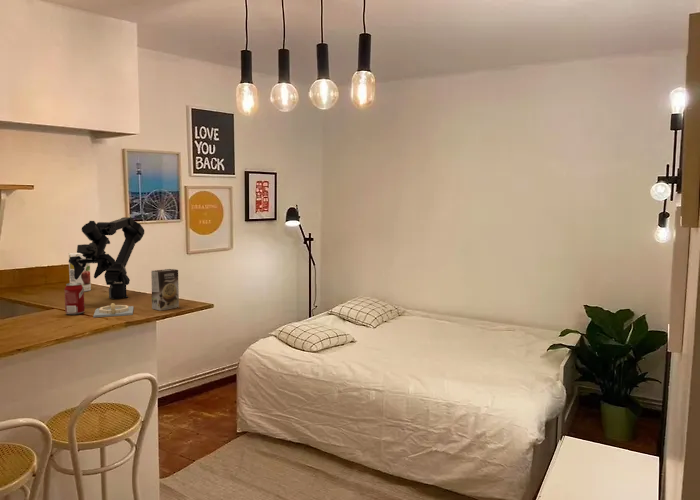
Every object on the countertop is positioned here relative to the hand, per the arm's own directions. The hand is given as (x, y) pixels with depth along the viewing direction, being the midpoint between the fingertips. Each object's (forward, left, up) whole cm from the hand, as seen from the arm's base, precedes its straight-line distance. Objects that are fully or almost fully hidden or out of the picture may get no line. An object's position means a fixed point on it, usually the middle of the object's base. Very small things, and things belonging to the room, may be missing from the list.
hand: (85, 278), depth 217 cm
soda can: (+6, +6, -13) cm, 16 cm away
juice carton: (-12, -46, -13) cm, 49 cm away
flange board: (-6, +15, -13) cm, 20 cm away
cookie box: (-25, +20, -13) cm, 35 cm away
